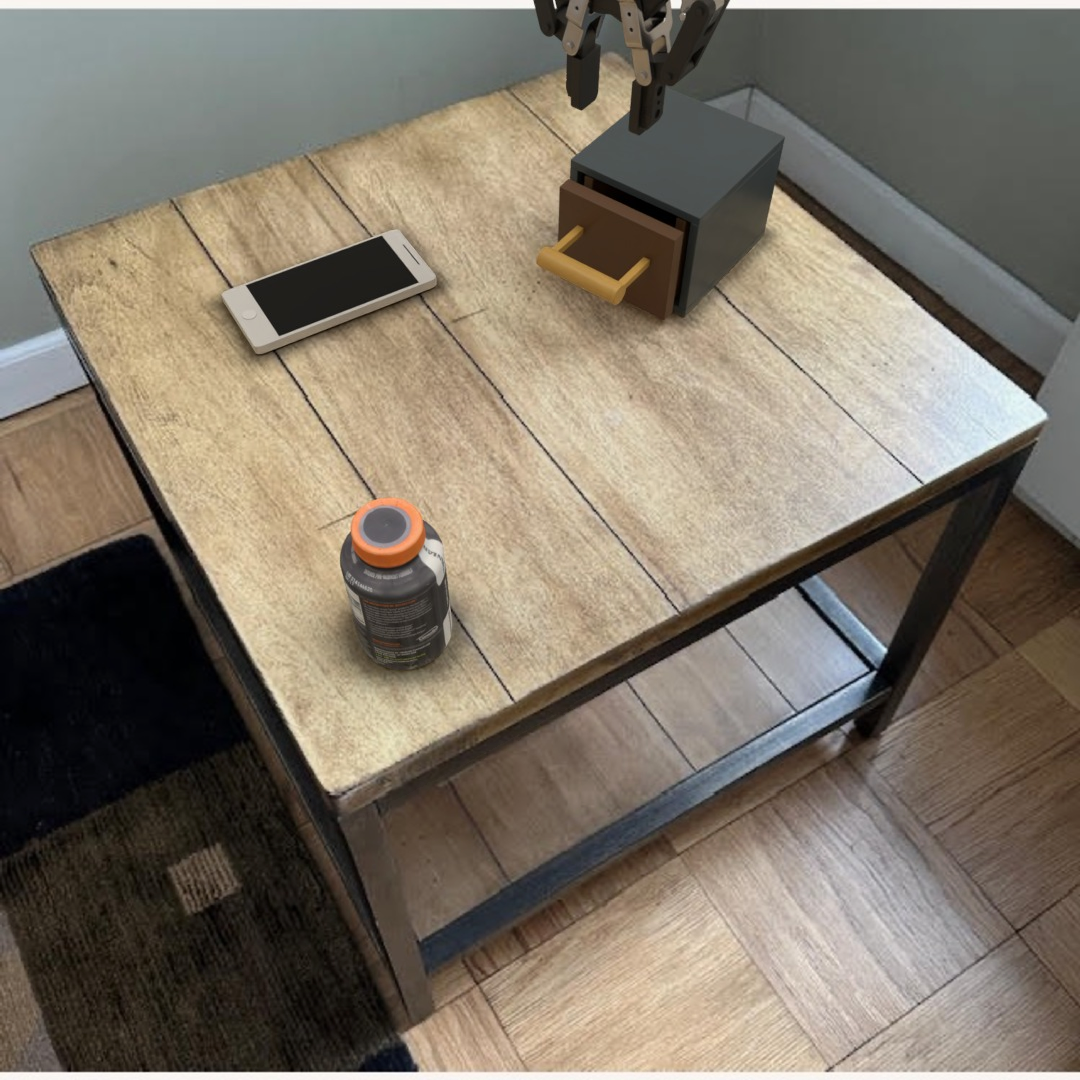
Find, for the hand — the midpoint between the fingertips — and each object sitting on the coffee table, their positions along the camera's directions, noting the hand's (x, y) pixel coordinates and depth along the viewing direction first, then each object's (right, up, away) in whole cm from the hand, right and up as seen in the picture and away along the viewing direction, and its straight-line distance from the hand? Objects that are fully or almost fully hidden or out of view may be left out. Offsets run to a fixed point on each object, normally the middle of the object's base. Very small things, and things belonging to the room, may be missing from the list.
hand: (612, 114), depth 72 cm
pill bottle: (-13, -34, -3) cm, 36 cm away
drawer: (+3, -7, +15) cm, 17 cm away
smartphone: (-21, -8, +15) cm, 27 cm away
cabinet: (+6, -4, +19) cm, 20 cm away
